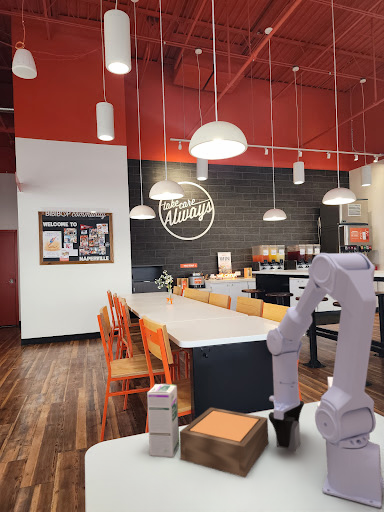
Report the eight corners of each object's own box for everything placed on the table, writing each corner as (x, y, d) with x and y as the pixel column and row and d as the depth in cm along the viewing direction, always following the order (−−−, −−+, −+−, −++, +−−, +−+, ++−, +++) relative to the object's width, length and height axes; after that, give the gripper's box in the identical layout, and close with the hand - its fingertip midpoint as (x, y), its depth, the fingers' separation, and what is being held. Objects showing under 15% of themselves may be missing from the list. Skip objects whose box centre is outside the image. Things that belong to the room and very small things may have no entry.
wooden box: (268, 443, 83) (267, 417, 83) (245, 477, 70) (244, 446, 70) (211, 430, 90) (210, 407, 91) (180, 459, 77) (179, 431, 77)
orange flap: (258, 423, 82) (258, 419, 82) (239, 446, 72) (239, 441, 72) (213, 414, 88) (213, 410, 88) (189, 434, 78) (189, 430, 78)
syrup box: (173, 458, 78) (171, 392, 78) (148, 456, 79) (146, 391, 80) (179, 445, 83) (177, 383, 84) (156, 443, 85) (154, 383, 85)
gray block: (300, 443, 83) (299, 421, 83) (295, 451, 79) (294, 429, 79) (281, 439, 85) (280, 418, 85) (276, 447, 81) (275, 425, 81)
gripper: (277, 370, 91) (280, 423, 90) (259, 387, 78) (261, 449, 78) (305, 373, 87) (308, 428, 87) (291, 391, 75) (294, 456, 74)
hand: (288, 438), depth 82 cm, fingers open, 7 cm apart
